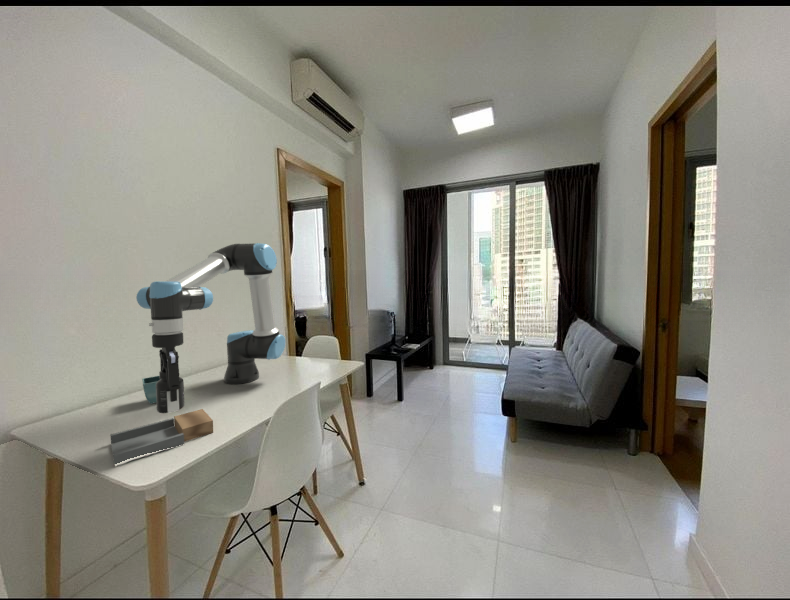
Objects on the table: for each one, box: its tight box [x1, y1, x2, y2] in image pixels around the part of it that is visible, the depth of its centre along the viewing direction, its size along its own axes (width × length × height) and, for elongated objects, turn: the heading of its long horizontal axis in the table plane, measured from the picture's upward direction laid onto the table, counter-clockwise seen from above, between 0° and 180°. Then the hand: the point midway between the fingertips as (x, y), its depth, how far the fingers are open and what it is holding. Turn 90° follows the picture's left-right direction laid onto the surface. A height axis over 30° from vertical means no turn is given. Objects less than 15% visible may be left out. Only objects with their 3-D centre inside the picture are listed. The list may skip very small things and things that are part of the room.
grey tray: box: [110, 417, 185, 465], centre depth 88 cm, size 15×15×3 cm
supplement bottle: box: [156, 370, 185, 414], centre depth 92 cm, size 7×7×12 cm
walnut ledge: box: [173, 408, 214, 443], centre depth 97 cm, size 8×12×4 cm, turn 46°
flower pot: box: [141, 375, 160, 405], centre depth 120 cm, size 9×9×9 cm
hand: (171, 407), depth 92 cm, fingers closed on supplement bottle, 7 cm apart
